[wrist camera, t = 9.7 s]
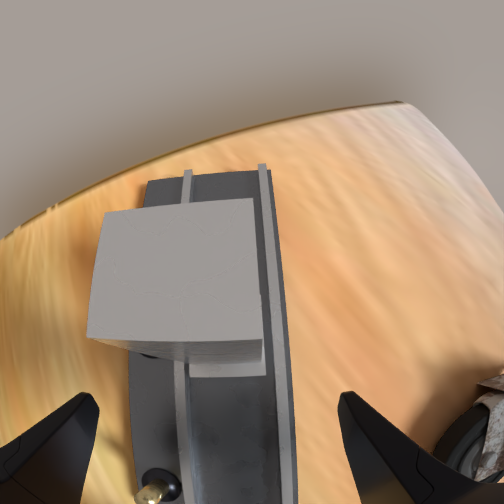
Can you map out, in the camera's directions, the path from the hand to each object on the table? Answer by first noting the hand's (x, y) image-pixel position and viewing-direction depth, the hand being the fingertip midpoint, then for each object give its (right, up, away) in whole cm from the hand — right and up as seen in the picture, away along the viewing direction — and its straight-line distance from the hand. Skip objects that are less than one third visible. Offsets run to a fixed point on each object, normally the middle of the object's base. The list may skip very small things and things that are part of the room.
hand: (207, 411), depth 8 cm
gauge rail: (-1, -1, +9) cm, 9 cm away
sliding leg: (-1, 0, +8) cm, 8 cm away
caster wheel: (+20, -10, +5) cm, 23 cm away
